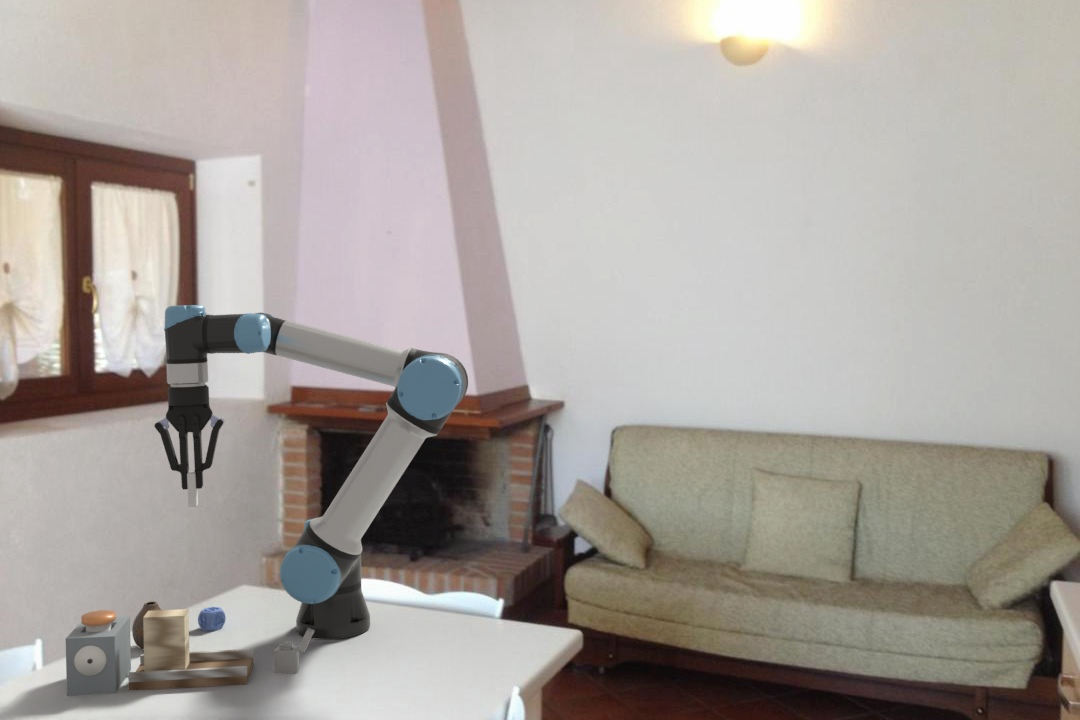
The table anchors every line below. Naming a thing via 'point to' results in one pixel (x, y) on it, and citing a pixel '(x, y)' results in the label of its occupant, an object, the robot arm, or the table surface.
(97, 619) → the plunger
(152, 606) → the vase
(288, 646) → the lighter
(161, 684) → the rail board
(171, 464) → the robot arm
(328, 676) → the table surface
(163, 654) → the beige wooden block
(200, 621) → the decorative dice
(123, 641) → the cabinet
